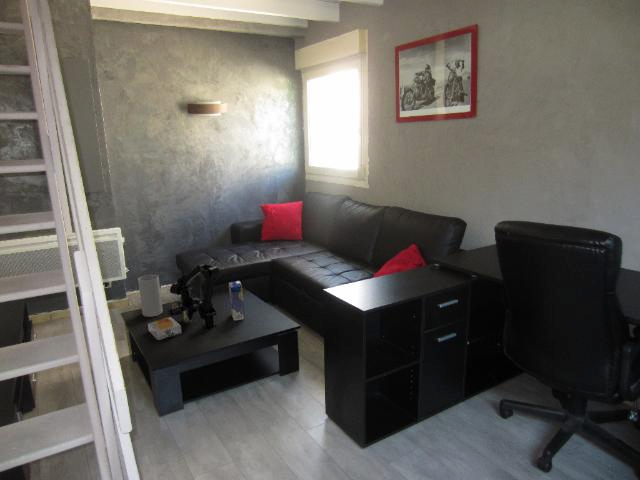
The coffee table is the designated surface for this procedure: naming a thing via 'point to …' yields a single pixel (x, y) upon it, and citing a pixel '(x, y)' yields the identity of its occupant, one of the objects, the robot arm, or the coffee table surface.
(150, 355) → the coffee table surface
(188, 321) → the brass can
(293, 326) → the coffee table surface
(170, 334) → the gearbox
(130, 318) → the coffee table surface
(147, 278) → the cylinder vase
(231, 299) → the beverage box
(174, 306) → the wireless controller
